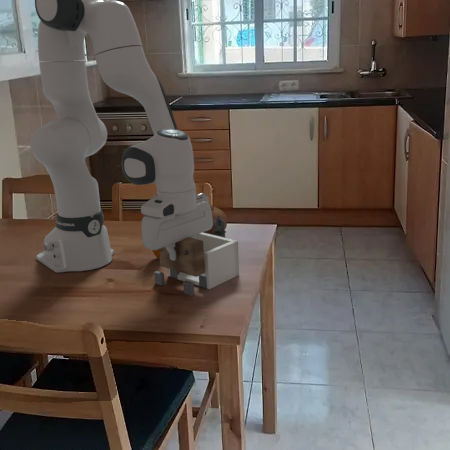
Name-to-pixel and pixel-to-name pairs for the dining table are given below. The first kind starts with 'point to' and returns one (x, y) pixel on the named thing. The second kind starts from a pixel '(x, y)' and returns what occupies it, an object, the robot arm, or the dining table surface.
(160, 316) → the dining table surface
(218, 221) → the chess piece
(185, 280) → the cabinet
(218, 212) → the onion
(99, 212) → the robot arm
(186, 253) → the door
